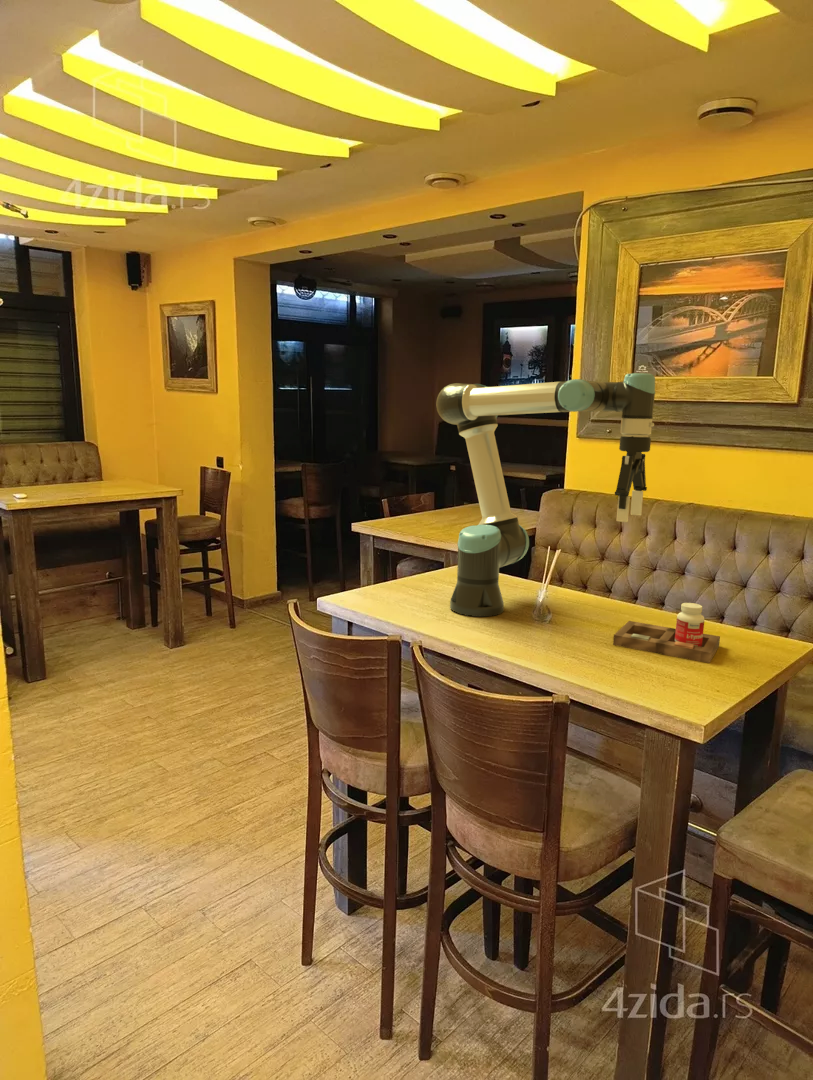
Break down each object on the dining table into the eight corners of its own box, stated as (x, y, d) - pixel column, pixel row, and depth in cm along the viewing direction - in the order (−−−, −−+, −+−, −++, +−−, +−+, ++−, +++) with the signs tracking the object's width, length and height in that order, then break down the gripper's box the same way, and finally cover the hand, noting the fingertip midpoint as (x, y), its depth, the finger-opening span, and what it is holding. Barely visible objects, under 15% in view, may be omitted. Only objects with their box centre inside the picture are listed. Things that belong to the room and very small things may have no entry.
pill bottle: (685, 654, 165) (689, 609, 163) (668, 646, 171) (672, 602, 169) (707, 652, 167) (711, 607, 165) (689, 644, 173) (694, 600, 171)
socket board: (613, 644, 171) (613, 633, 171) (628, 629, 183) (629, 619, 182) (709, 663, 160) (710, 651, 159) (719, 646, 172) (720, 634, 171)
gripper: (638, 437, 166) (631, 526, 170) (661, 435, 187) (655, 513, 191) (606, 436, 170) (600, 522, 174) (633, 434, 191) (627, 511, 195)
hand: (629, 518), depth 182 cm, fingers open, 13 cm apart
